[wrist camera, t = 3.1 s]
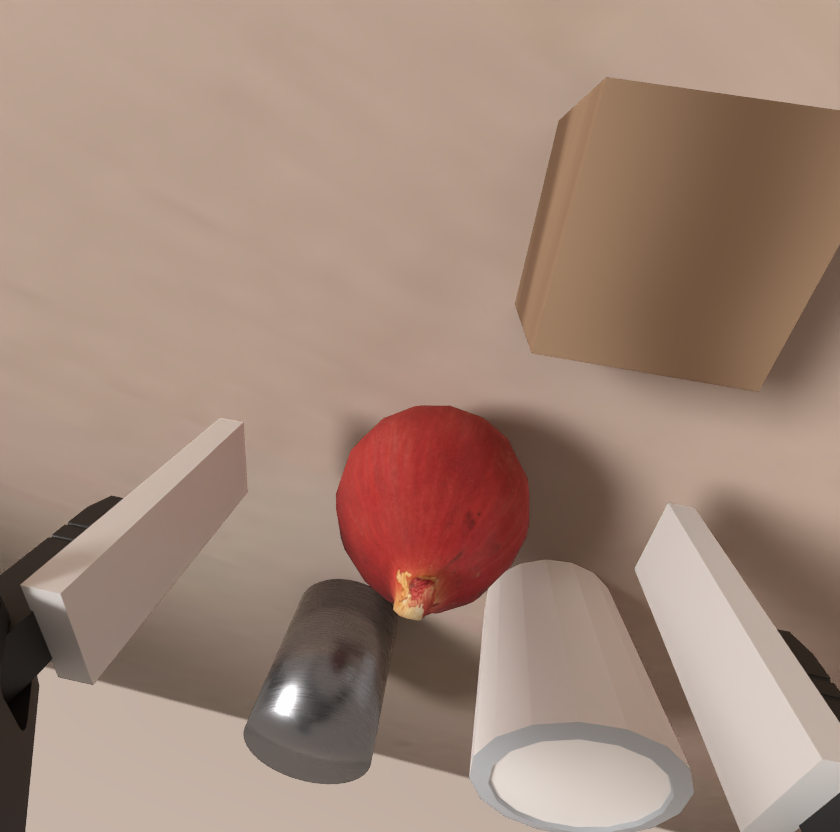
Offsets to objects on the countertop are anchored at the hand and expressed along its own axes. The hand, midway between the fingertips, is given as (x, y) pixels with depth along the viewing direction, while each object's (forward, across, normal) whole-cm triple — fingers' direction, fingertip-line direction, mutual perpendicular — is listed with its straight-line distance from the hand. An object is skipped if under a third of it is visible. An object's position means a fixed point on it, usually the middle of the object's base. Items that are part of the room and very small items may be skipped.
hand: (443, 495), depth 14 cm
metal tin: (+3, +3, +11) cm, 12 cm away
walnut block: (+4, -4, -8) cm, 10 cm away
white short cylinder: (+4, -6, +8) cm, 10 cm away
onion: (+4, 0, 0) cm, 4 cm away
